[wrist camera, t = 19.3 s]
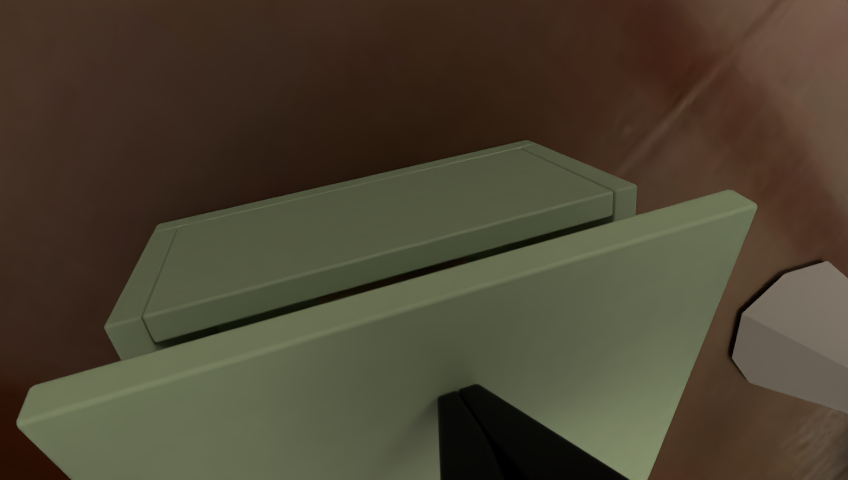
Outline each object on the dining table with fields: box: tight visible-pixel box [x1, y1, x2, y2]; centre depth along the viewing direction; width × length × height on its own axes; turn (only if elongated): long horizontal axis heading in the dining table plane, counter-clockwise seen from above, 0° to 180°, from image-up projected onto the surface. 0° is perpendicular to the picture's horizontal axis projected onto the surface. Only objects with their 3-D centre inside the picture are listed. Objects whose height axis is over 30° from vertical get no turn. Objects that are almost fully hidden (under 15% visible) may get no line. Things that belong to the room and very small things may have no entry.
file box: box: [104, 140, 637, 361], centre depth 16 cm, size 12×12×6 cm
